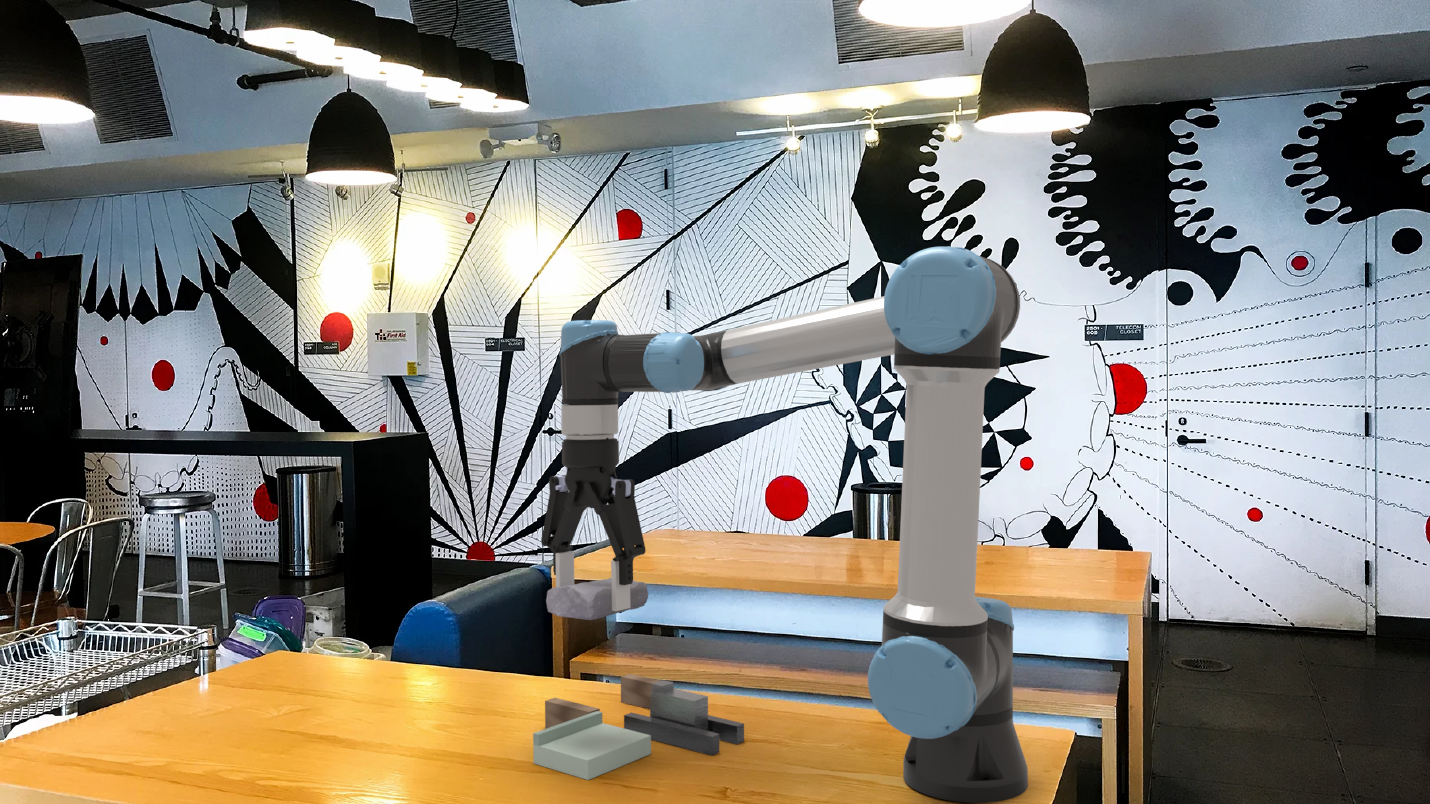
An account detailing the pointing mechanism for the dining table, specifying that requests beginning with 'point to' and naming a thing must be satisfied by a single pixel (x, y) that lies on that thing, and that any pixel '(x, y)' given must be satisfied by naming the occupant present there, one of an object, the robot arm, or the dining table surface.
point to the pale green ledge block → (588, 746)
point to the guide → (687, 732)
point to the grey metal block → (679, 706)
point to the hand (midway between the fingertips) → (592, 604)
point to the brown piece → (561, 711)
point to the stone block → (591, 599)
